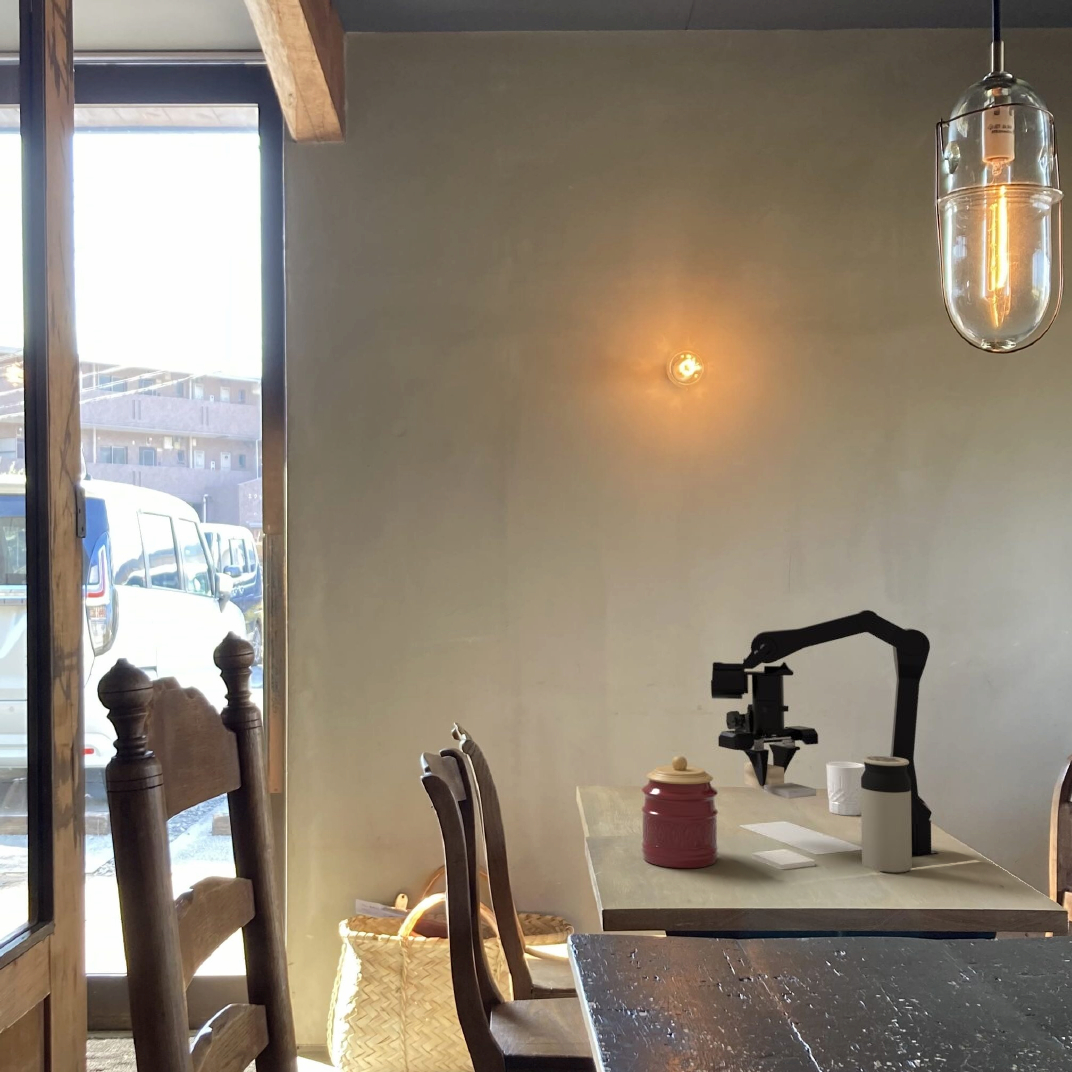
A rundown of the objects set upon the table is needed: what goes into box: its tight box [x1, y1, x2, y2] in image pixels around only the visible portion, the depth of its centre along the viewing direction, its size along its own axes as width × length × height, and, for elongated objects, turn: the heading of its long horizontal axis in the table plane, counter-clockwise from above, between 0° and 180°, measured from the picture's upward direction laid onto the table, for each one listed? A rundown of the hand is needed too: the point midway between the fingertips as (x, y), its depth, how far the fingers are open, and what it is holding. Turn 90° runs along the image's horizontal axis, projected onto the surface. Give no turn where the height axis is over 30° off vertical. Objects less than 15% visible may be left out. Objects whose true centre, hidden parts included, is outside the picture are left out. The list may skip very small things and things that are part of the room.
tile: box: [751, 848, 816, 870], centre depth 175 cm, size 2×7×8 cm
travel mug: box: [860, 755, 913, 874], centre depth 173 cm, size 8×8×18 cm
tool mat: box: [738, 820, 862, 856], centre depth 193 cm, size 24×11×1 cm, turn 23°
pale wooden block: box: [743, 761, 817, 799], centre depth 187 cm, size 15×6×4 cm, turn 24°
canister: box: [641, 755, 719, 869], centre depth 177 cm, size 13×13×18 cm
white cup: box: [825, 761, 865, 816], centre depth 217 cm, size 8×8×10 cm
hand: (769, 785), depth 189 cm, fingers closed on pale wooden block, 3 cm apart
